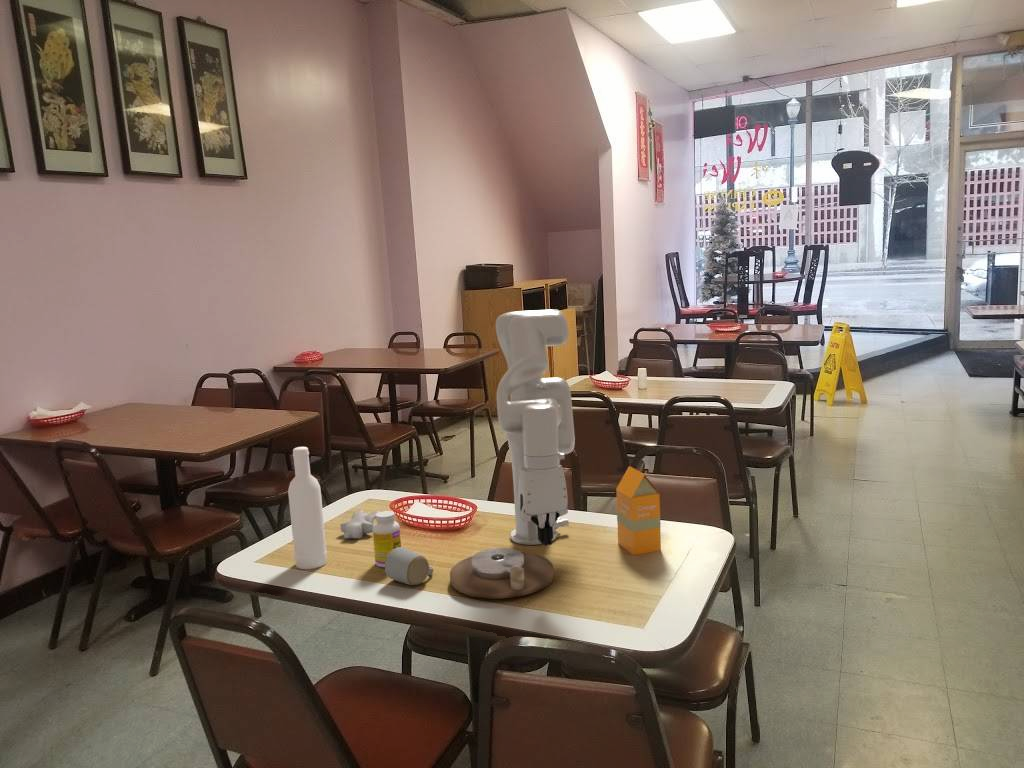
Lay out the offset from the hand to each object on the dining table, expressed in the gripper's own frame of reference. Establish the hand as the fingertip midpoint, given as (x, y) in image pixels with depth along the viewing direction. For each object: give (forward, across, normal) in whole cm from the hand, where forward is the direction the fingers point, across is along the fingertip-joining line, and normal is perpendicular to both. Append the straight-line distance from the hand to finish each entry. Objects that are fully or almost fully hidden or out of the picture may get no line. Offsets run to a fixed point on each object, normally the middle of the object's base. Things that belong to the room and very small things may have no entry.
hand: (545, 543), depth 169 cm
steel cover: (+9, +7, -12) cm, 17 cm away
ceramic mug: (+12, +26, -22) cm, 36 cm away
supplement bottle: (+11, +29, -34) cm, 46 cm away
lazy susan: (+11, +7, -11) cm, 17 cm away
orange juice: (+11, -31, -15) cm, 37 cm away
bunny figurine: (+10, +31, -62) cm, 70 cm away
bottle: (+11, +47, -43) cm, 65 cm away
